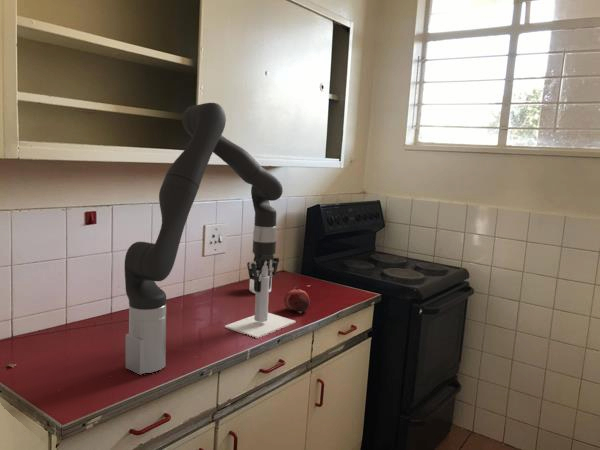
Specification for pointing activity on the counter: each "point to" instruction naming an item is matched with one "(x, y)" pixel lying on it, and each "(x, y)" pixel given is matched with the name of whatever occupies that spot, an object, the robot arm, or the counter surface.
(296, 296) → the fruit
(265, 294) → the bottle
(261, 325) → the tile
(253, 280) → the jar
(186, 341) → the counter surface
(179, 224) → the robot arm
